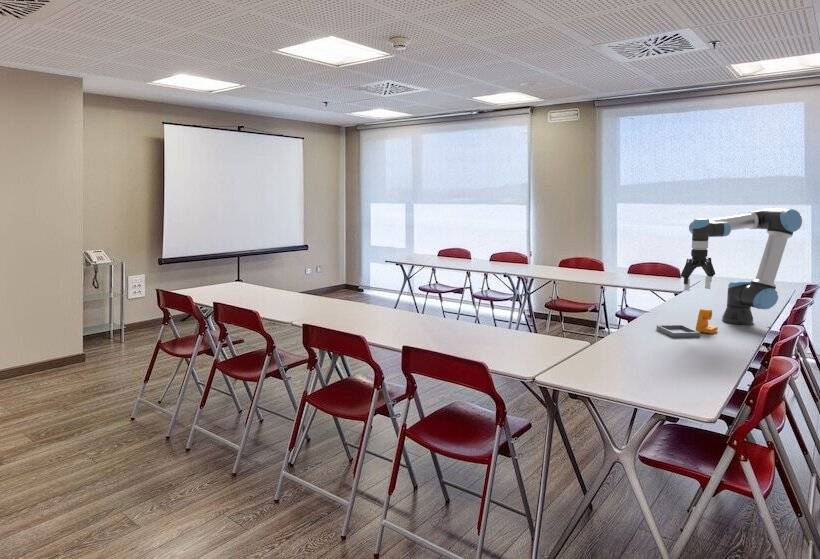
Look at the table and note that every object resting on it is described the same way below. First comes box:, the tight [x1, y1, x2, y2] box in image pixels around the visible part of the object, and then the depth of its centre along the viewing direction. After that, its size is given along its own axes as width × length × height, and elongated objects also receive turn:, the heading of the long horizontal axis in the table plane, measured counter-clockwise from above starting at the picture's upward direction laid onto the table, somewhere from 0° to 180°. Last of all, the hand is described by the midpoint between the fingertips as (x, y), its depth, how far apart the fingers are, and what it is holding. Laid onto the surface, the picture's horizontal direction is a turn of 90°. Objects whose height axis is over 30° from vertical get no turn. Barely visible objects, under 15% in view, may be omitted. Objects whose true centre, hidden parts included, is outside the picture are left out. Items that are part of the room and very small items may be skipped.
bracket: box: [695, 308, 719, 335], centre depth 295 cm, size 11×7×12 cm, turn 133°
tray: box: [656, 324, 701, 339], centre depth 292 cm, size 14×17×2 cm
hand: (697, 289), depth 295 cm, fingers open, 13 cm apart
